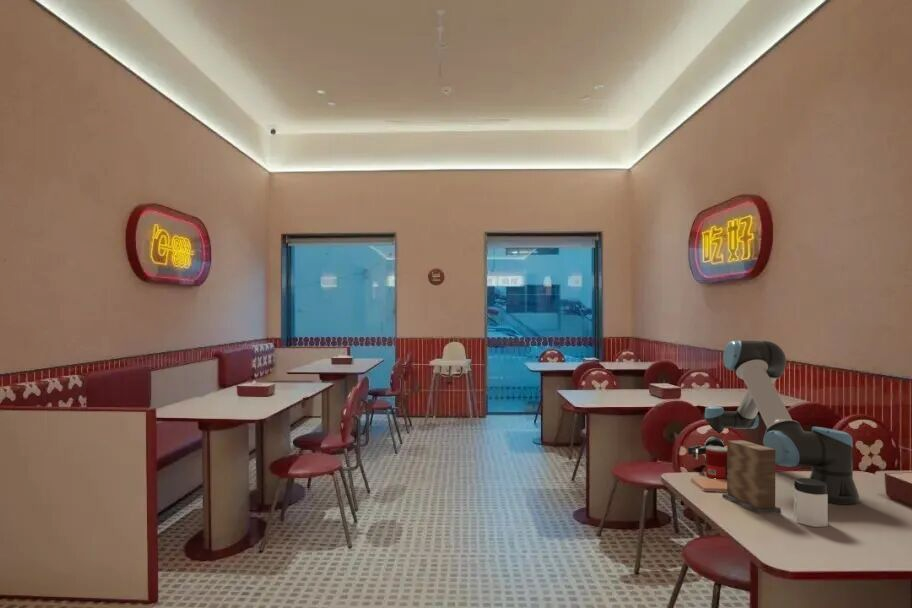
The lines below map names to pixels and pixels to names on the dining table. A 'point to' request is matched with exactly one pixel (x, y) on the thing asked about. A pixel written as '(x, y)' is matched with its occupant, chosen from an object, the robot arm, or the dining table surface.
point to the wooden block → (751, 476)
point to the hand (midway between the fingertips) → (715, 457)
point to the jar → (810, 502)
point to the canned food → (716, 462)
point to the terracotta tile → (710, 484)
